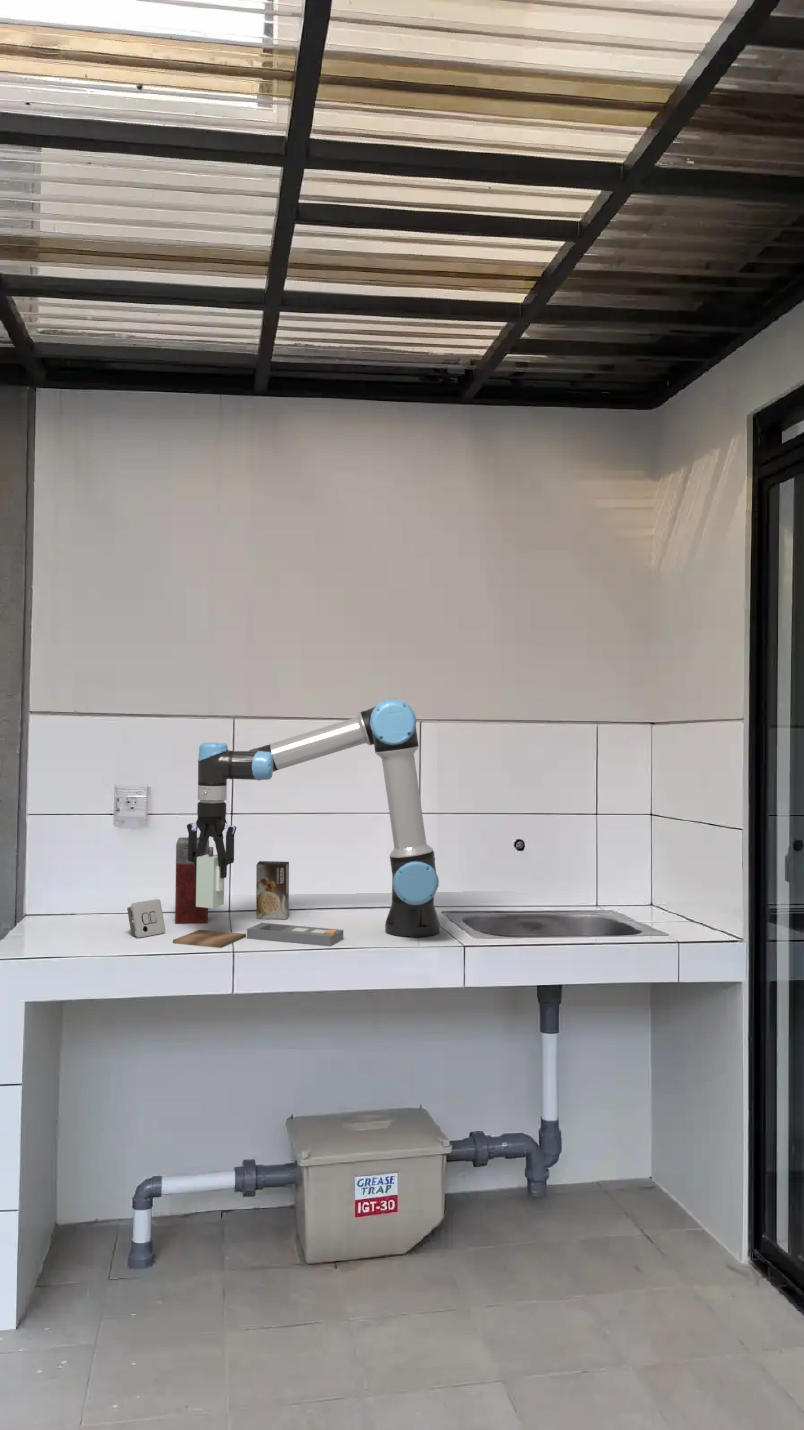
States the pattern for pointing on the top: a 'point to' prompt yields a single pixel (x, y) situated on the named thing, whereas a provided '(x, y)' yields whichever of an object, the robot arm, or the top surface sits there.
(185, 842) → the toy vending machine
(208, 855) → the pale green block
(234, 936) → the walnut pad
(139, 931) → the electrical switch
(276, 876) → the coffee box
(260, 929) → the power strip
